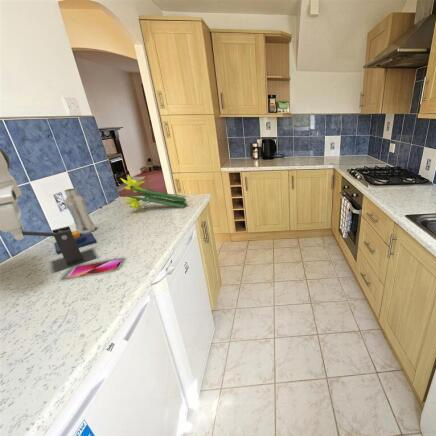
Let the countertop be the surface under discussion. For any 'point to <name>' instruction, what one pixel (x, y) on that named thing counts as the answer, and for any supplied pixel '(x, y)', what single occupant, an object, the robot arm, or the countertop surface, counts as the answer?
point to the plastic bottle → (78, 211)
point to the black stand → (69, 250)
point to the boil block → (80, 241)
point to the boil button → (76, 234)
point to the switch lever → (38, 233)
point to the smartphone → (96, 268)
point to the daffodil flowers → (151, 195)
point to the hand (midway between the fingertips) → (20, 235)
